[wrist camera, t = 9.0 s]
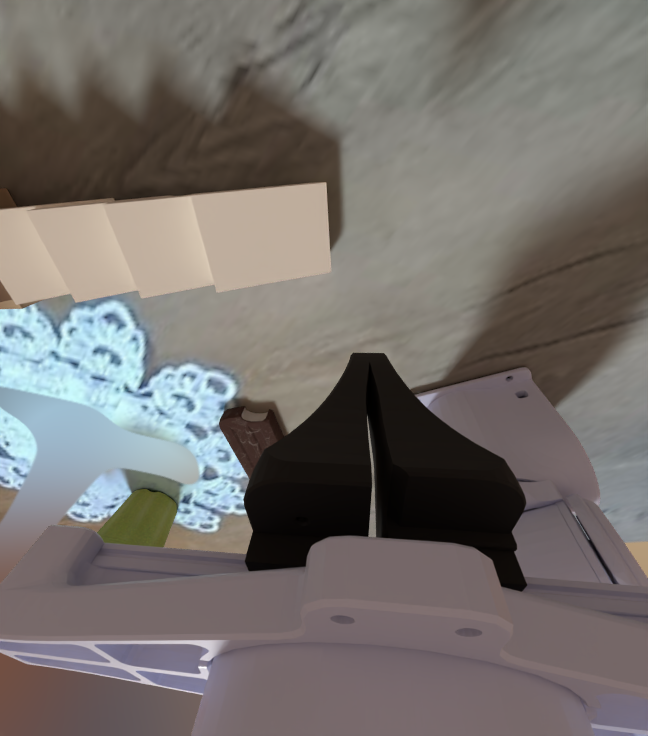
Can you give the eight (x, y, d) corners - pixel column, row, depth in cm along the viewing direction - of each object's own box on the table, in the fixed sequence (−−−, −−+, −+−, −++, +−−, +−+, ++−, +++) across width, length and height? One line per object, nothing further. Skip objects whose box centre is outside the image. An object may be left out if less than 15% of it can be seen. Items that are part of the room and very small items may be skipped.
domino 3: (243, 190, 17) (102, 204, 15) (259, 275, 20) (141, 298, 17) (236, 190, 19) (108, 202, 16) (252, 269, 21) (143, 289, 19)
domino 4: (326, 182, 16) (190, 195, 14) (331, 272, 19) (216, 292, 17) (314, 182, 18) (190, 194, 16) (320, 265, 21) (214, 283, 19)
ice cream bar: (311, 497, 36) (270, 400, 28) (309, 509, 35) (265, 412, 27) (270, 498, 37) (220, 407, 30) (267, 511, 36) (213, 418, 28)
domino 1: (113, 198, 18) (-44, 214, 15) (145, 278, 21) (16, 304, 18) (112, 198, 20) (-33, 211, 17) (141, 272, 22) (21, 296, 19)
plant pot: (205, 512, 40) (170, 587, 33) (162, 527, 44) (122, 598, 37) (149, 471, 36) (96, 546, 29) (106, 491, 40) (50, 562, 33)
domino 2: (174, 196, 18) (25, 210, 15) (198, 278, 20) (75, 302, 18) (170, 195, 19) (35, 208, 17) (194, 271, 22) (80, 293, 19)
